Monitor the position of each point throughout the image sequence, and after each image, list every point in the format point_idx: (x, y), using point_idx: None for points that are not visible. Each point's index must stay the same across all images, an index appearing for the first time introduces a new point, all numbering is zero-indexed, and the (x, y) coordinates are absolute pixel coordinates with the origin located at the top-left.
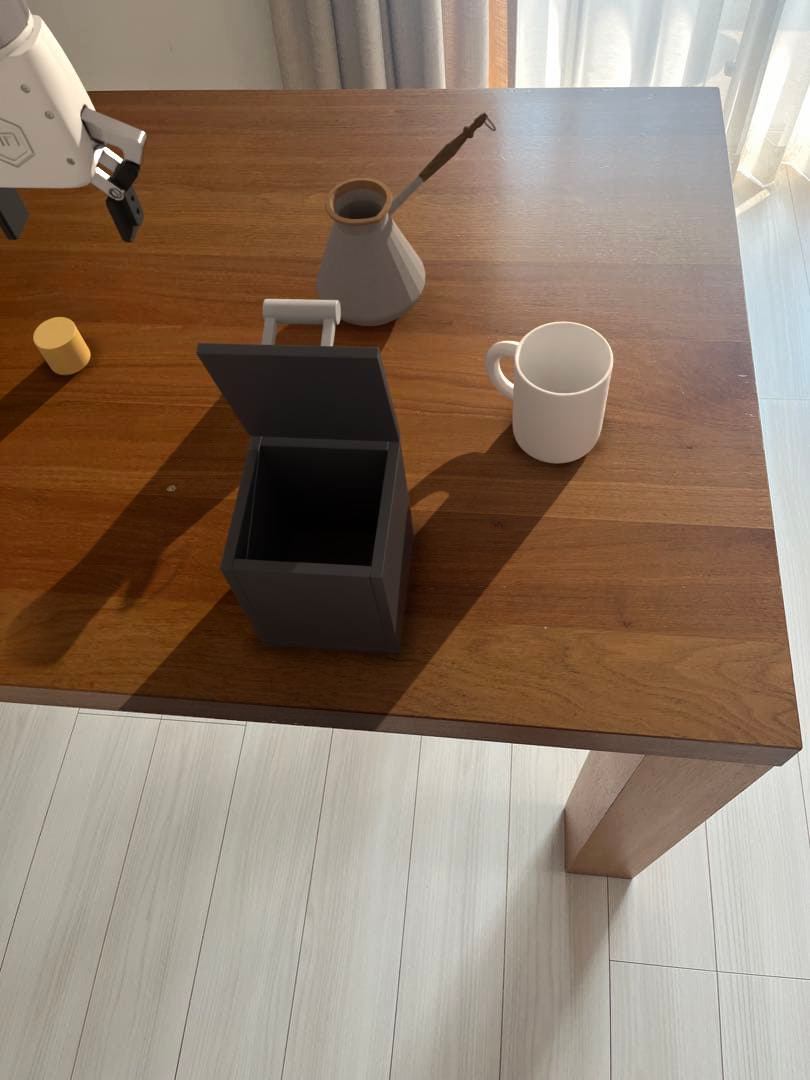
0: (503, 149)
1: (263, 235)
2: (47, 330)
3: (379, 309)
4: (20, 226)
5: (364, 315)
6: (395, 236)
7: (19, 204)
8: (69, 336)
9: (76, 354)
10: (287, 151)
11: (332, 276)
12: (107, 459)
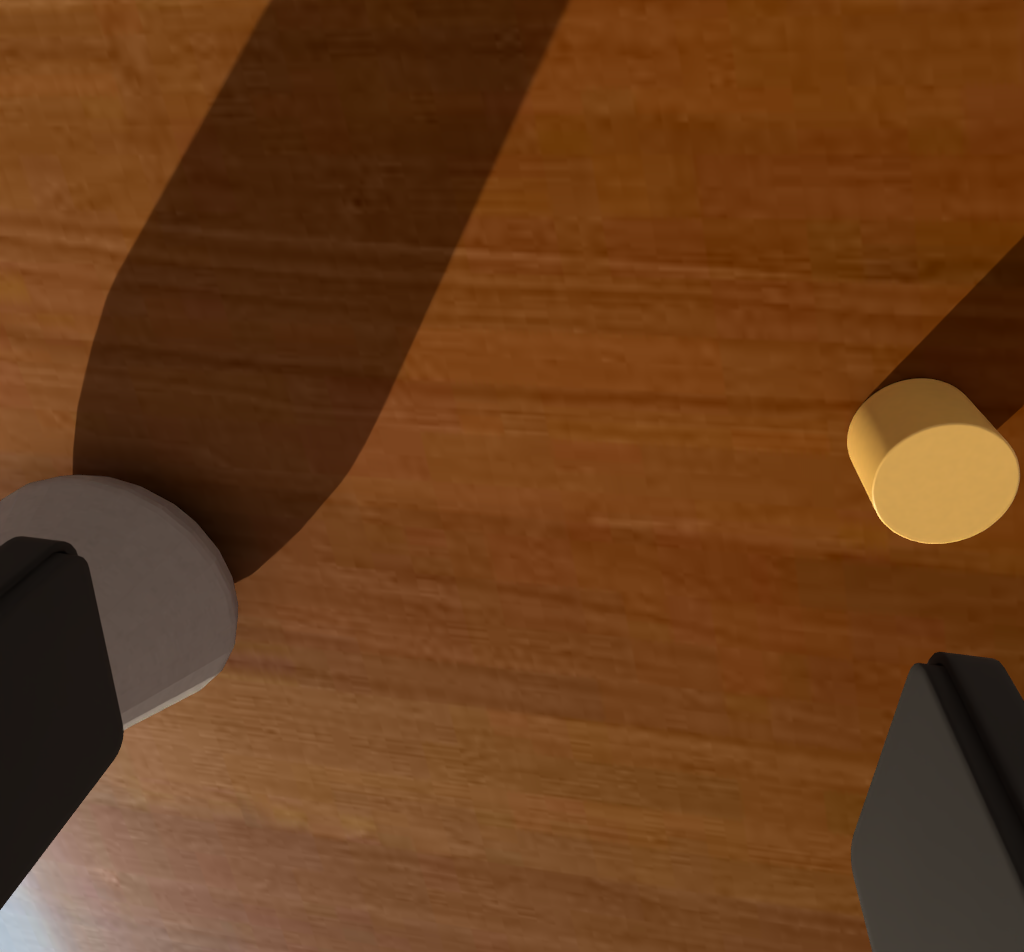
0: None
1: (444, 755)
2: (969, 496)
3: (27, 499)
4: (895, 759)
5: (69, 488)
6: None
7: (891, 935)
8: (889, 468)
9: (876, 425)
10: (442, 942)
11: (115, 589)
12: (747, 37)
